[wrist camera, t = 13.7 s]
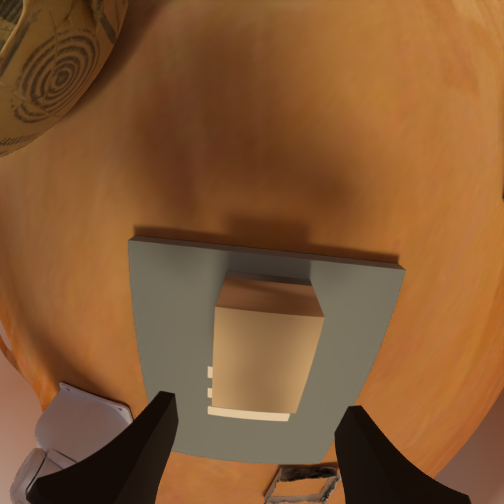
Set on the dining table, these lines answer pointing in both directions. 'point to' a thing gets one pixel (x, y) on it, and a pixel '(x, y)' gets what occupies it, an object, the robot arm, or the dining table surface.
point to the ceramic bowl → (50, 60)
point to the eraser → (264, 341)
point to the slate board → (202, 338)
